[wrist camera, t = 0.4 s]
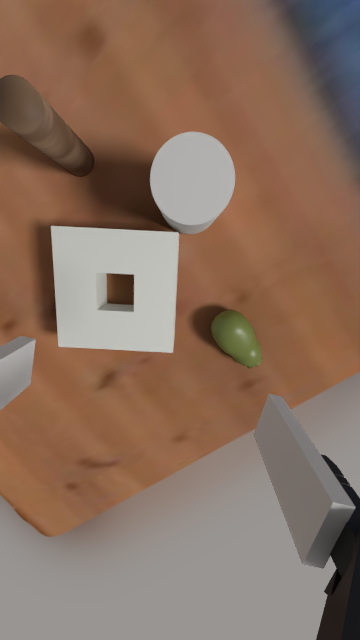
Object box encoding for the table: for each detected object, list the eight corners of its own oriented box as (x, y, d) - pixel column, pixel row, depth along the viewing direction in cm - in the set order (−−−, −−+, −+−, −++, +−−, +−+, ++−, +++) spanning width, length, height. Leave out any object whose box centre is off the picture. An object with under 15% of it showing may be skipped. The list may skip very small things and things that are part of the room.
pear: (242, 309, 35) (277, 361, 38) (231, 298, 40) (263, 344, 43) (207, 334, 36) (245, 382, 39) (200, 320, 41) (235, 363, 44)
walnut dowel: (63, 143, 36) (-12, 73, 22) (93, 144, 36) (37, 76, 22) (65, 175, 36) (-6, 129, 23) (94, 177, 36) (40, 131, 23)
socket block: (67, 229, 38) (50, 225, 33) (179, 235, 38) (178, 232, 33) (73, 335, 42) (58, 346, 37) (174, 341, 42) (172, 352, 37)
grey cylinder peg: (229, 213, 37) (250, 195, 26) (180, 245, 38) (178, 241, 27) (200, 158, 36) (207, 112, 24) (149, 193, 37) (133, 165, 25)
